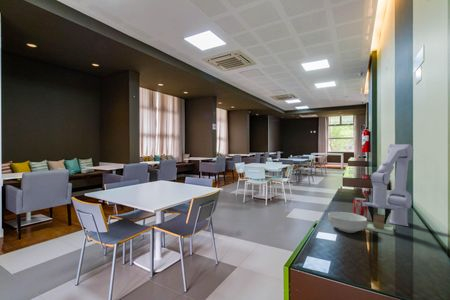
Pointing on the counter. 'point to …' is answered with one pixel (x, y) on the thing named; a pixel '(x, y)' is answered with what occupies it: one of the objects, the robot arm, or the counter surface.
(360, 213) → the soda can
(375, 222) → the walnut block
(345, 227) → the cereal bowl
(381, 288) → the counter surface
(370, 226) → the tray
